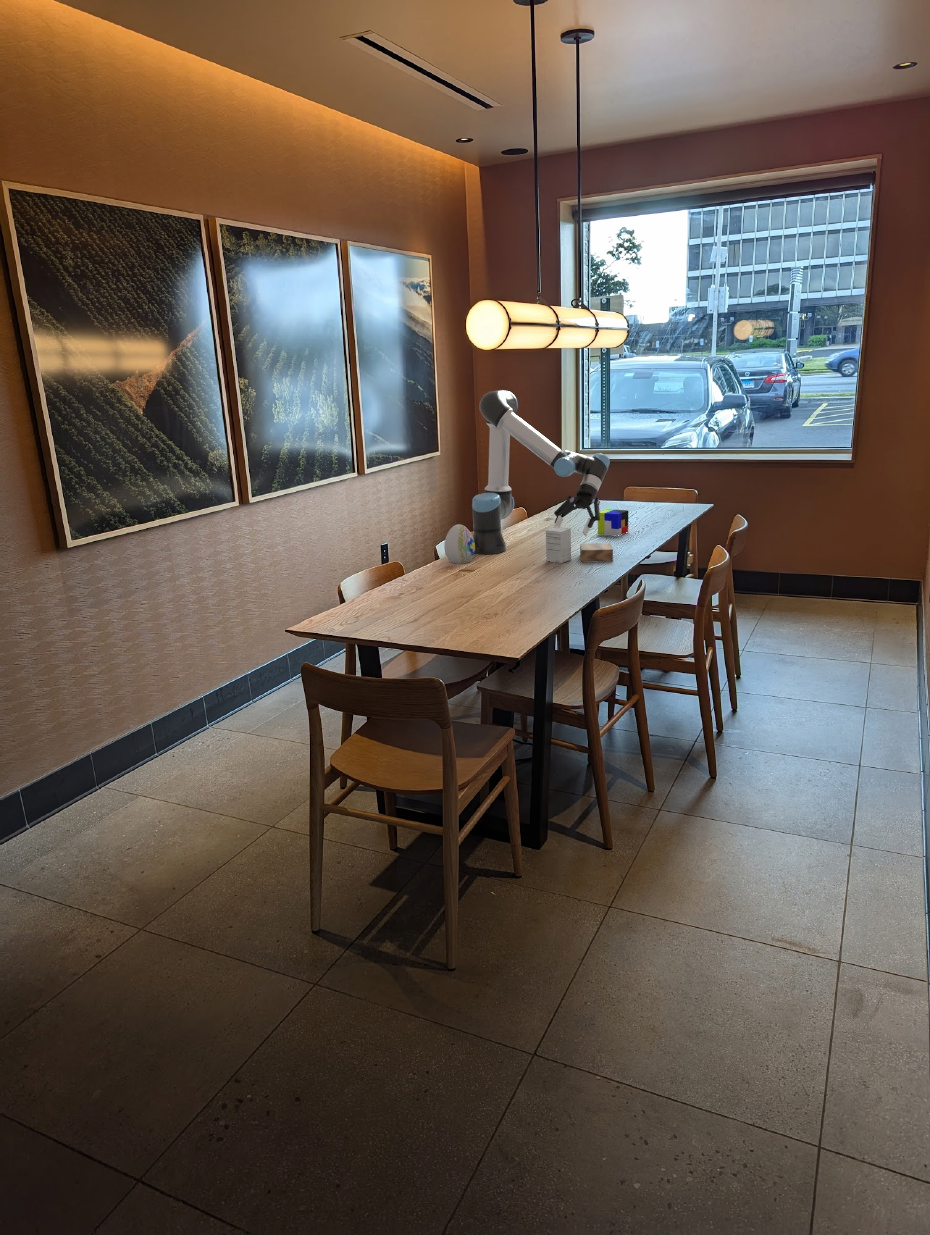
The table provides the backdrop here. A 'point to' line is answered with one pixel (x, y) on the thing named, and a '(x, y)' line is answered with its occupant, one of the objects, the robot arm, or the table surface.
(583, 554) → the walnut box
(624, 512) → the puzzle toy
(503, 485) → the robot arm
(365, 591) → the table surface
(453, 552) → the decorative egg
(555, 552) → the supplement box
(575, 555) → the table surface
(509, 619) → the table surface
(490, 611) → the table surface
